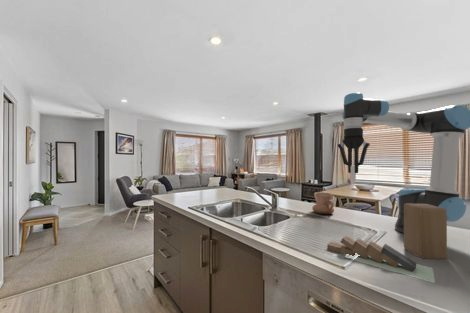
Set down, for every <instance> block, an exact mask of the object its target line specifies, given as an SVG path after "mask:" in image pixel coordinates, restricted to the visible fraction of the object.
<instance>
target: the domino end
mask: <svg viewBox="0 0 470 313" xmlns="http://www.w3.org/2000/svg"><path fill="white" fill-rule="evenodd" d="M327 250H329V251H332V252H337V253H340V254H342V255H343V254H344V255H346V254H349V255H352V256H354V255H355V253H356V252H354V251H353V250H351V249H350V248H348V247H347V246H345V245H344V244H342V243H341V242H336V241H332V240H331V241H330V242H328V244H327Z"/></svg>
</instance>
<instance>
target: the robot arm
mask: <svg viewBox="0 0 470 313" xmlns="http://www.w3.org/2000/svg"><path fill="white" fill-rule="evenodd" d="M341 116H342V119H343V128H344V130H343V140H342V142H340V143H337V147H338V149H339V151H340V155H341V158H342V159H341V160H342V162H343V165H346V166H347V169H348V170H347V172H348V173H349V174H350V181H351V182H355V181H357V180H356V177H357V174H359V166H361V165H363V164H364V162H365V159H366V155H367V151H368V148H369V147H370V145H371V144H370V143H369V142H367V141H365V139H364V129H363V127H364V124H365V123H366V124H372V125H380V126H381V125H382V126H386V127H387V126H388V127H394V128H400V129H401V130H403V131H408V132H414V133H421V134H429V135H430V136H431V138H433V144H432V146H433V147H432V155H431V156H432V158H431V165H430V166H431V168H430V177H429V178H430V179H429V180H430V181H429V186H428V187H426V188H419V189H418V188H412V189H410V188H402V189H400V190H399V192H398V217H397V219H396V222H395V224H394V230H395V231H397V232H399V233H402V234H404V204H406V203H412V204H429V205H433V206H437V207H440V208H444V209H446V211H447V223H448V222H449V223H453V222H457V221H459V220H460V219H462V218H463V217H464V215H465V213H466V211H467V205H466V202H465V200H464V199H462V198H461V197H460V192H458V190H456V182H457V181H456V180H457V168H458V155H459V146H460V144H459V143H460V138H461V137H463V136H465V130H468V129H469V128H470V108H468V107H467V106H465V105H462V104H454V105H446V106H444V107H439V108H435V109H431V110H426V111H419V112H407V113H406V112H405V113H403V112H396V111H391V110H390V104H389V101H388V100H385V99H379V98H378V99H377V98H376V99H375V98H374V99H372V98H364V95H363V93H362V92H353V93H348V94H346V95H345V96H344V99H343V111H342V115H341ZM361 146H362V147H363V148H362V150H361V155H360V158H359V149H360V147H361ZM345 147H346V148H347V154H346V151H345ZM353 153H354V155H353ZM353 156H354V158H353ZM353 160H354V162H353Z"/></svg>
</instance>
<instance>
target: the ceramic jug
mask: <svg viewBox="0 0 470 313" xmlns="http://www.w3.org/2000/svg"><path fill="white" fill-rule="evenodd" d="M332 198H333V194H332V193H330V192H324V191H323V192H322V191H321V192H320V191H317V192H314V199H315V202H316V203H315V204H313V206H312V211H313V212H314V213H316V214H319V215H330V214H333V213H334V212H335V207H334V205H335V203H334V201H333V200H332Z"/></svg>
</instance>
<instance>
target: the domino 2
mask: <svg viewBox="0 0 470 313" xmlns="http://www.w3.org/2000/svg"><path fill="white" fill-rule="evenodd" d="M354 241H355V243H354V244H353V245H354V246H355V247H356V248H358V249H359V250H361V251H362V252H364V253H365V254H367V255H368V256H370V257H371V258H373V259H374V260H376V261H377V262H379V263H381V262H382V261H383V259H382V258H380V257H379V256H377V255H376V254H374V253H373V252H371V251H370V250H368V249H367V246H368V244H369V243H367V242H366V241H364V240H362V239H361V238H360V237H357V238H356V239H355V240H354Z"/></svg>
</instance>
